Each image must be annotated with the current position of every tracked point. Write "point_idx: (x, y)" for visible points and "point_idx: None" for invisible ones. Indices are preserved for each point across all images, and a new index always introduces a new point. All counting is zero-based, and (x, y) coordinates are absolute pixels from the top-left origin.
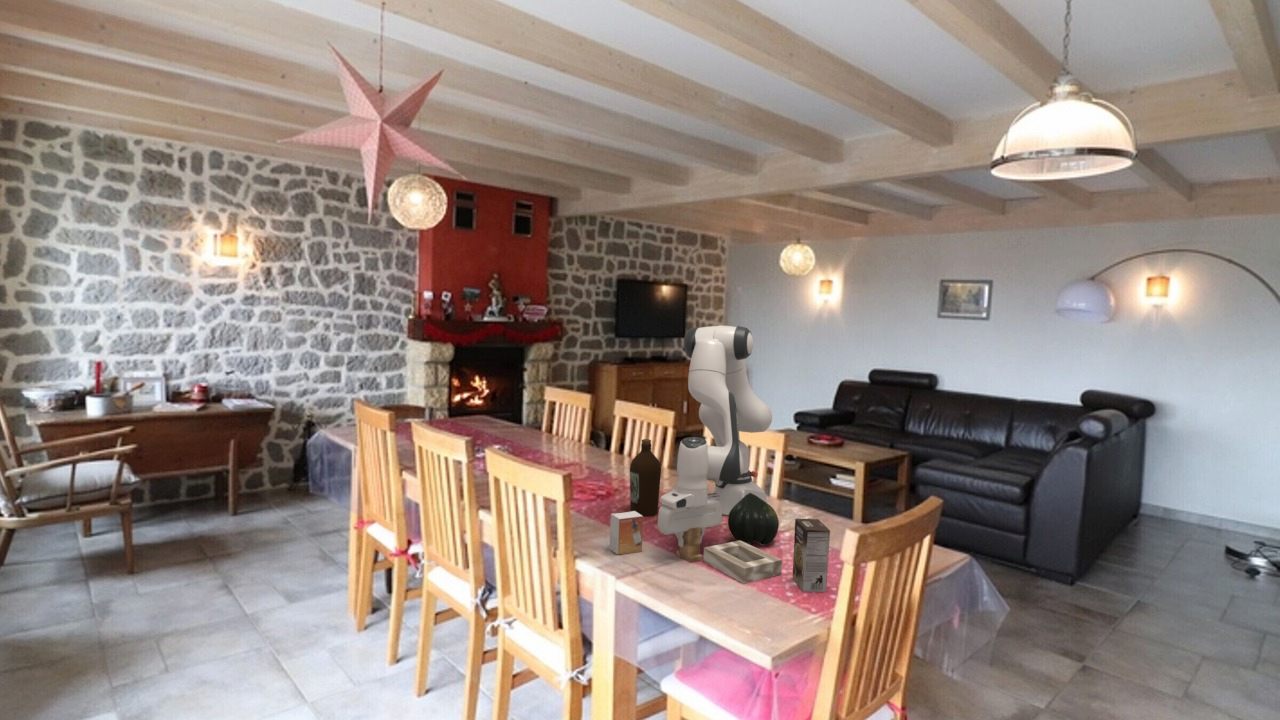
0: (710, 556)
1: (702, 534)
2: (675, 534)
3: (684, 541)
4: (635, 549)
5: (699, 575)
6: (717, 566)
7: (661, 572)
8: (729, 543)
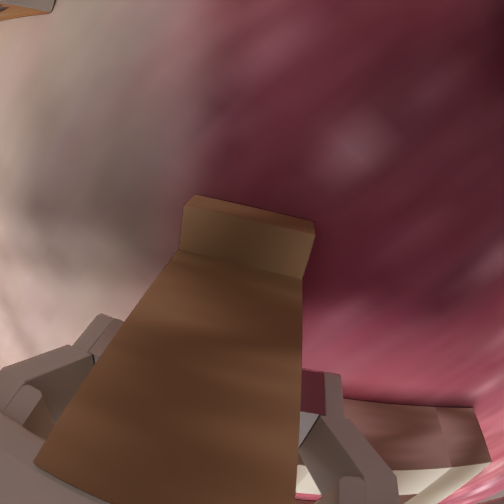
0: None
1: (321, 480)
2: (9, 368)
3: None
4: (4, 17)
5: None
6: None
7: (8, 307)
8: (421, 475)
